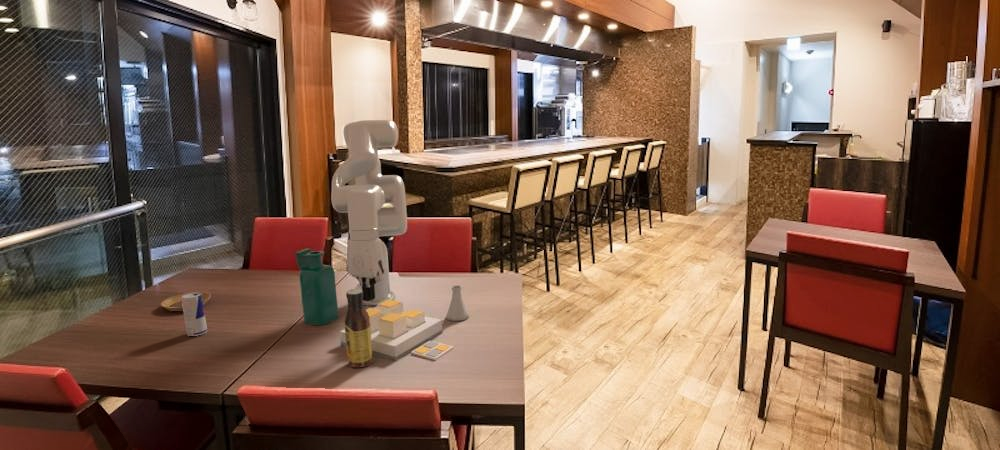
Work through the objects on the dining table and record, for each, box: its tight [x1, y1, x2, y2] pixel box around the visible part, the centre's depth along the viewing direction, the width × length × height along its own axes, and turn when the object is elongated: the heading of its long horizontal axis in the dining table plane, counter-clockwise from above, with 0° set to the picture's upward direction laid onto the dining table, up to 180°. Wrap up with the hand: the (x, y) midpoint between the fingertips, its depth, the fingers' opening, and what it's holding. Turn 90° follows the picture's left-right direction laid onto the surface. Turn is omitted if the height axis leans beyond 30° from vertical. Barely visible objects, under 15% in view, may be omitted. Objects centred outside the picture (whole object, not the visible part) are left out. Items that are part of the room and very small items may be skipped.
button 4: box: [400, 308, 426, 329], centre depth 157 cm, size 5×5×5 cm
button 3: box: [378, 313, 407, 340], centre depth 150 cm, size 5×5×5 cm
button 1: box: [365, 307, 384, 334], centre depth 154 cm, size 5×5×5 cm
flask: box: [446, 284, 470, 322], centre depth 170 cm, size 7×7×10 cm
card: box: [410, 340, 454, 361], centre depth 148 cm, size 8×8×1 cm
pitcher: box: [294, 248, 339, 326], centre depth 169 cm, size 10×8×22 cm
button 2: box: [376, 299, 404, 316], centre depth 160 cm, size 5×5×5 cm
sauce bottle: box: [343, 288, 373, 368], centre depth 139 cm, size 7×6×20 cm
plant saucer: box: [160, 291, 212, 312], centre depth 186 cm, size 15×15×3 cm
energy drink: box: [181, 291, 208, 337], centre depth 161 cm, size 5×5×12 cm
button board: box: [339, 310, 443, 361], centre depth 156 cm, size 20×20×4 cm
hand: (369, 299), depth 152 cm, fingers closed
